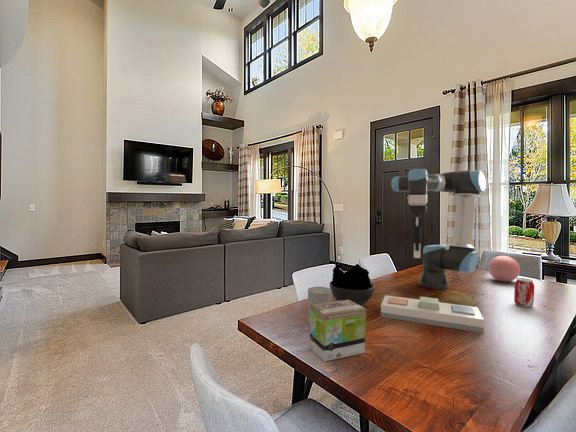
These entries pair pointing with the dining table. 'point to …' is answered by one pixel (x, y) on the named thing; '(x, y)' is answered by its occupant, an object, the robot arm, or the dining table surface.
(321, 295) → the gray cylinder
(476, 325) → the console
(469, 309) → the button blue
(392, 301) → the button terracotta
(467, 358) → the dining table surface
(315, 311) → the tea box
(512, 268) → the balloon
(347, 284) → the coal bowl
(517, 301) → the soda can
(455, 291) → the bread roll
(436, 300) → the button sage
